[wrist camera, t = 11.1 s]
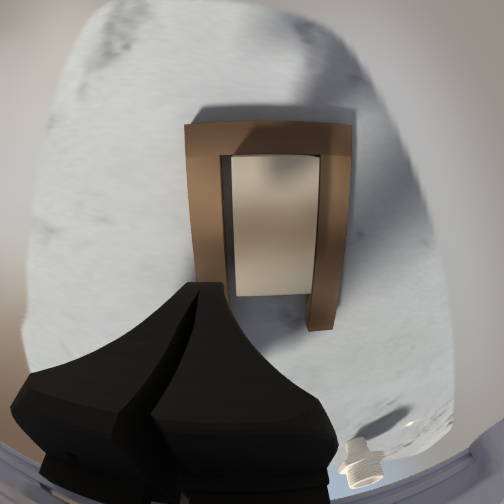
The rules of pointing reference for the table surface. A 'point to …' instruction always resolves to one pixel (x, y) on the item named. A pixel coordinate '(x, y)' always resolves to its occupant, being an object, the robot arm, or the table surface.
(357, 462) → the pipe fitting
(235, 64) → the table surface
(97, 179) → the table surface
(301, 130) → the brown frame section
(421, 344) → the table surface
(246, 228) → the beige rectangular block
